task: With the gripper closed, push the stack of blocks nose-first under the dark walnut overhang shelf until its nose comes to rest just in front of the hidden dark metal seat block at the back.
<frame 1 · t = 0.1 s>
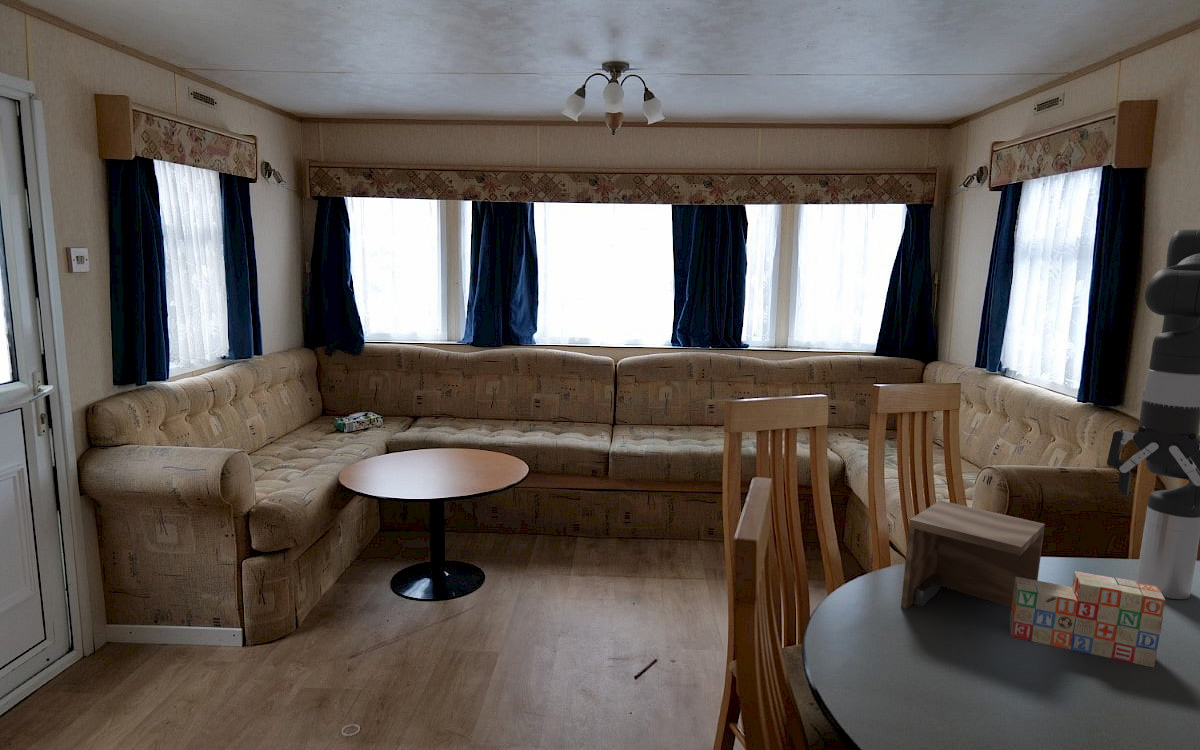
hand: (1156, 501, 122), 29 cm above the table, fingers open, 8 cm apart
stack of blocks: (1078, 645, 136), on the table
overhang shelf: (970, 610, 147), on the table
registration seat: (927, 597, 152), on the table
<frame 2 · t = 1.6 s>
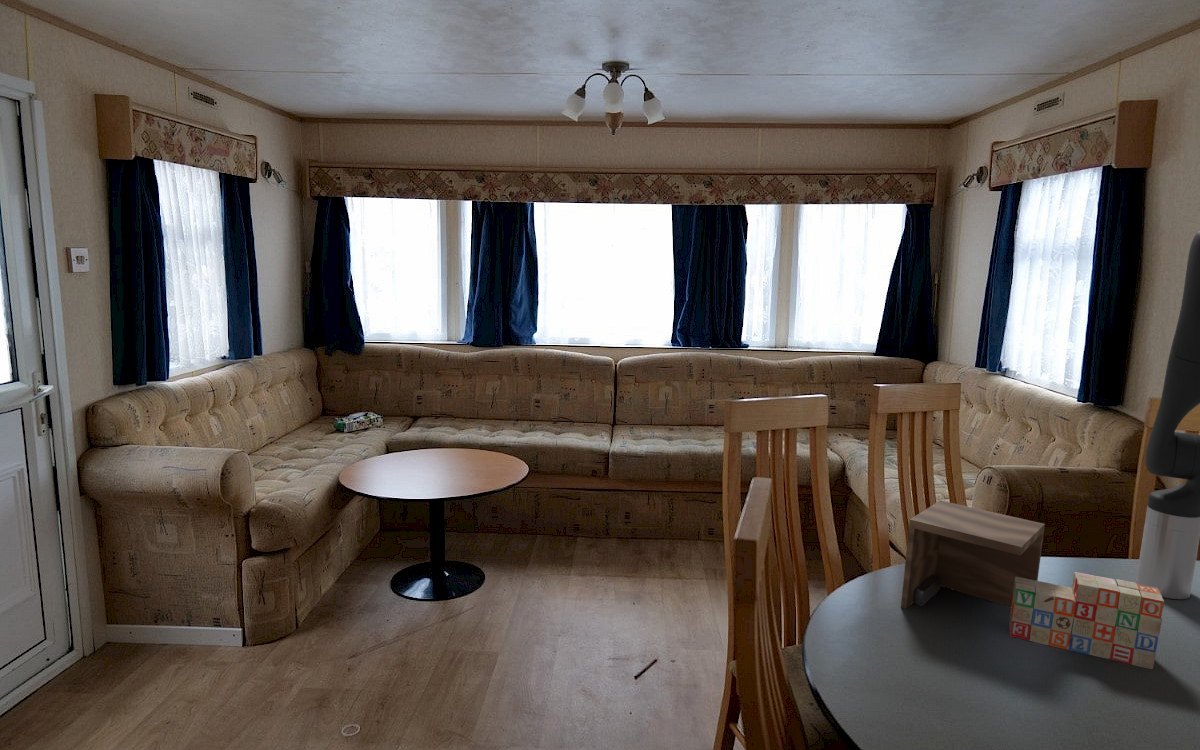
nothing on the table moved.
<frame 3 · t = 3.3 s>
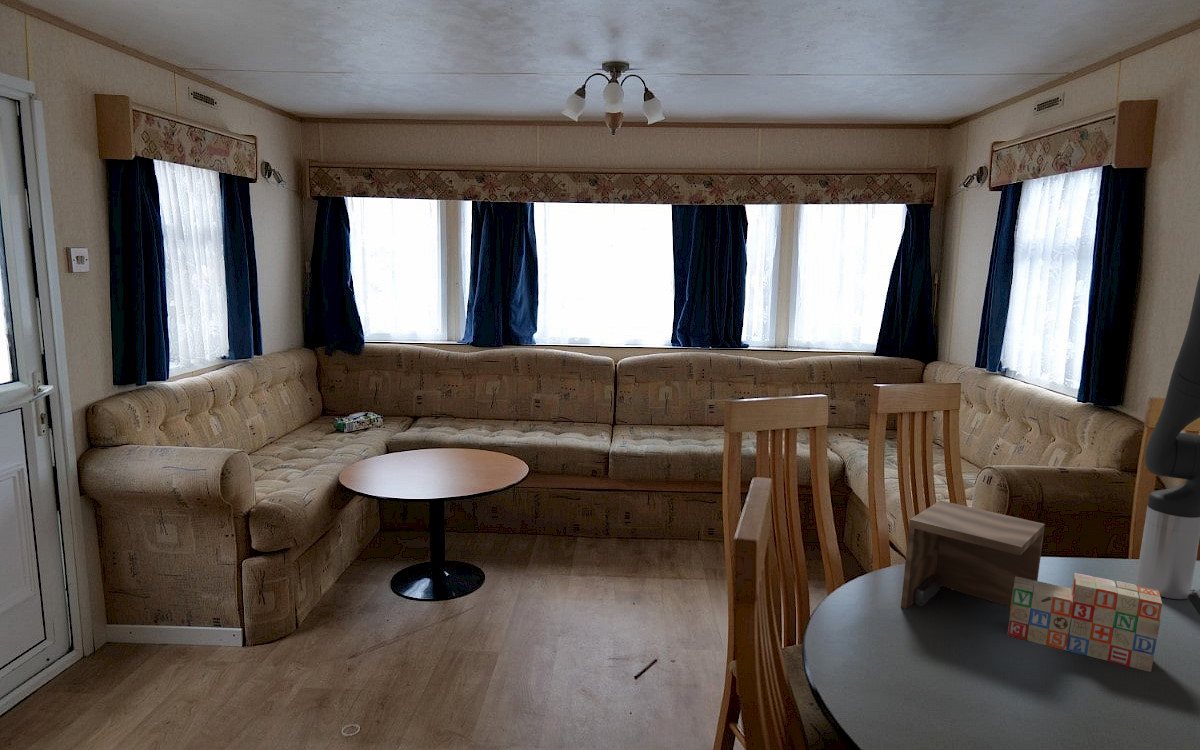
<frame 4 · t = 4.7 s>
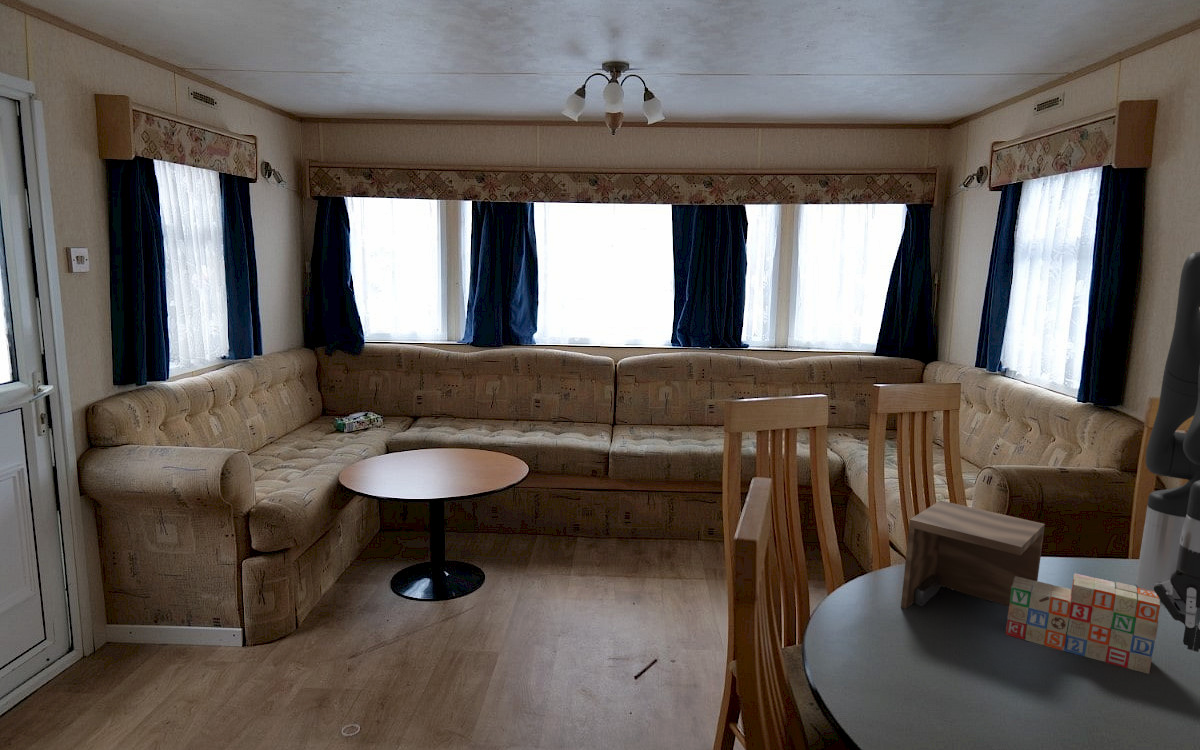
hand: (1192, 648, 125), 5 cm above the table, fingers closed
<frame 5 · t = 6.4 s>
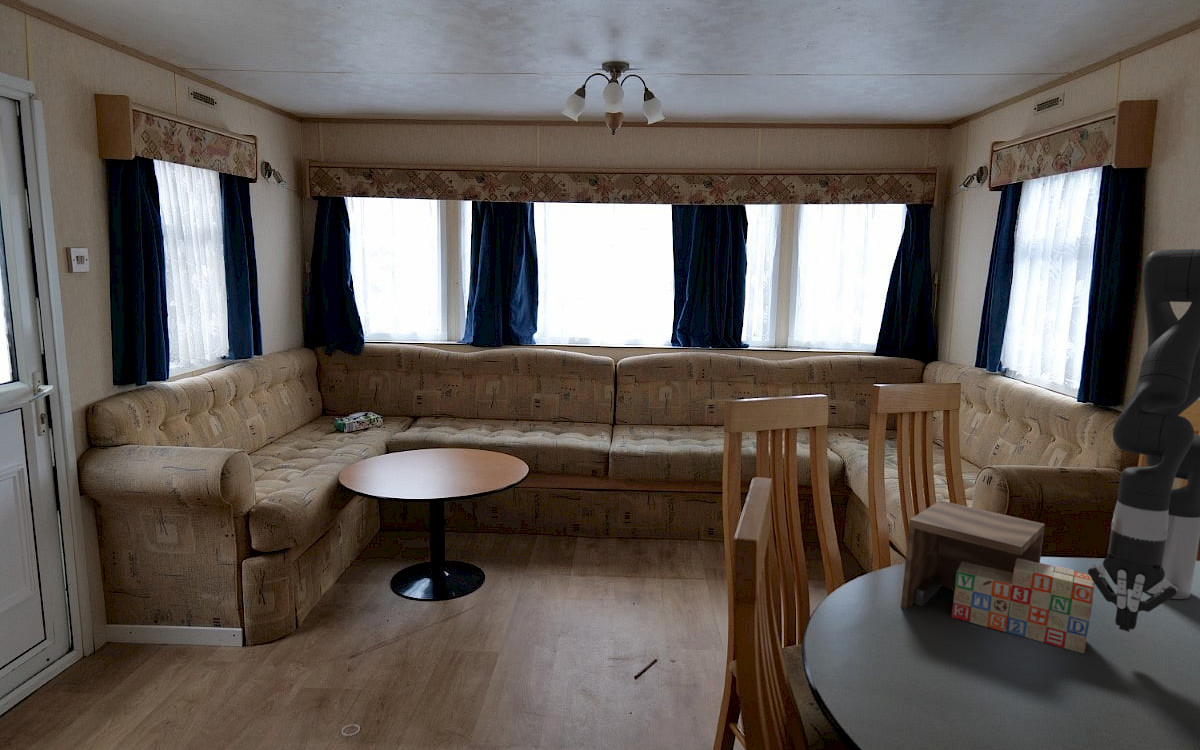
hand: (1124, 628, 131), 5 cm above the table, fingers closed
stack of blocks: (1016, 629, 140), on the table, touching hand
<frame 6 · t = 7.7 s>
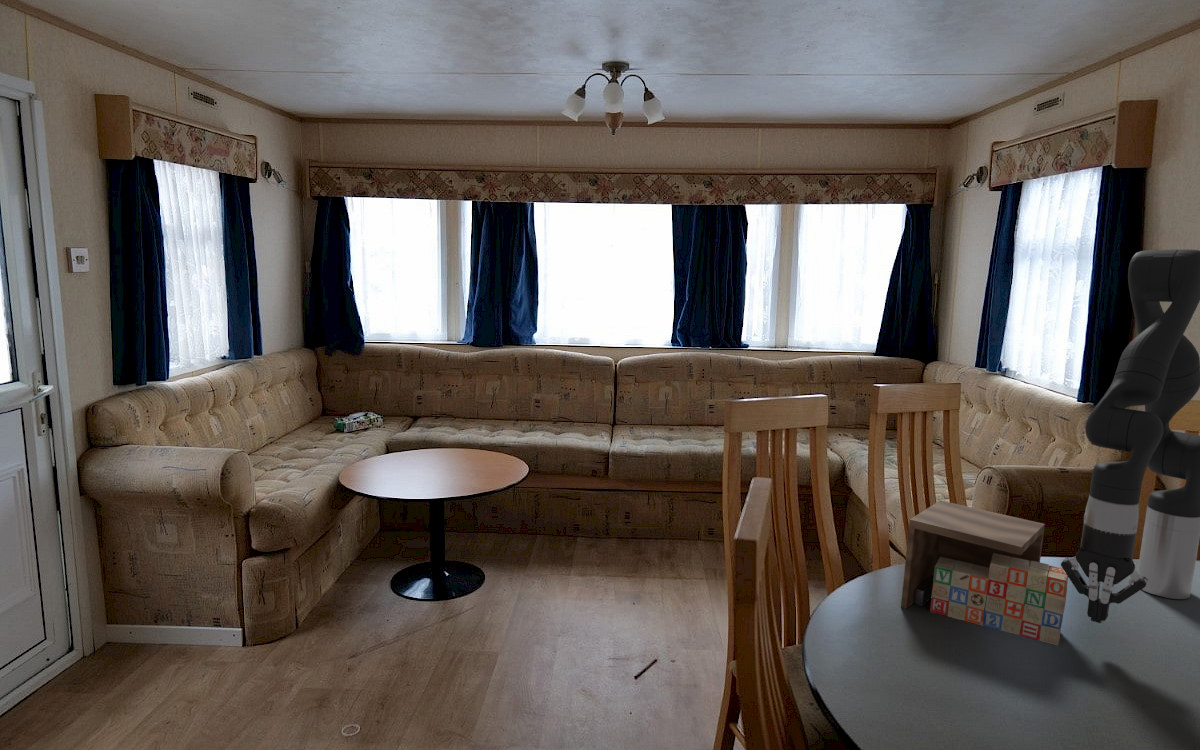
hand: (1096, 620, 133), 5 cm above the table, fingers closed
stack of blocks: (993, 623, 143), on the table
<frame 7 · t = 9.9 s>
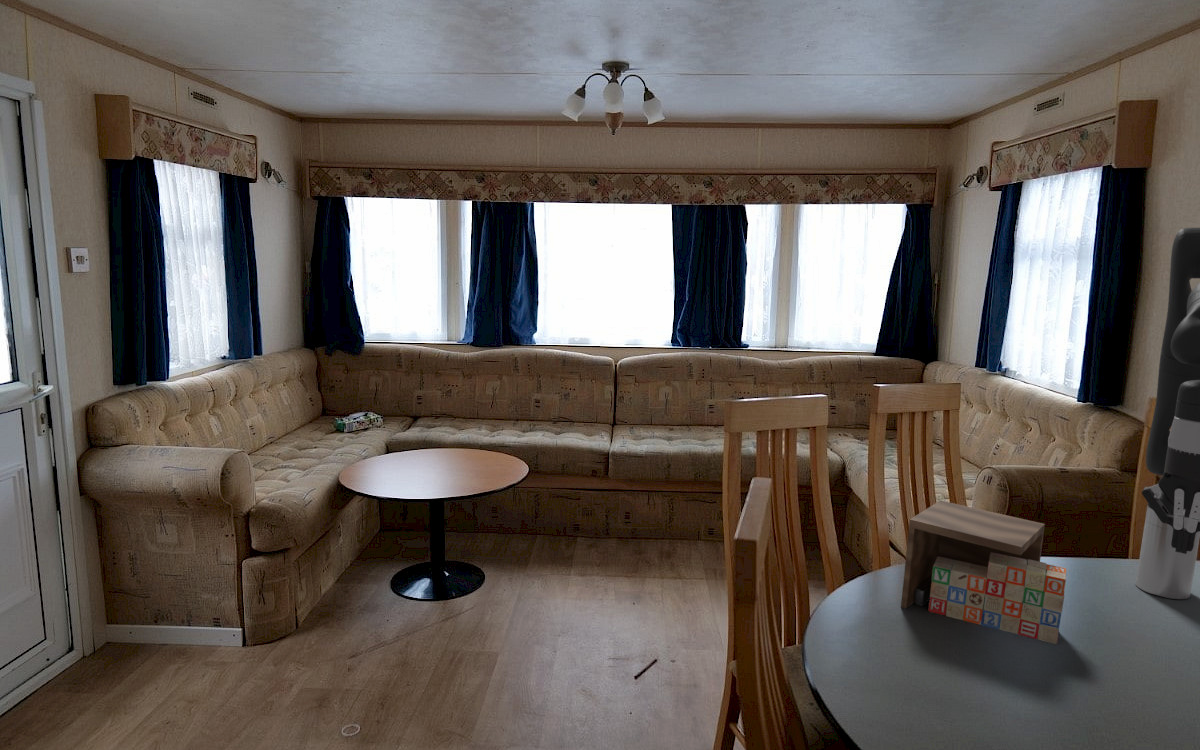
hand: (1181, 551, 124), 20 cm above the table, fingers closed
nothing on the table moved.
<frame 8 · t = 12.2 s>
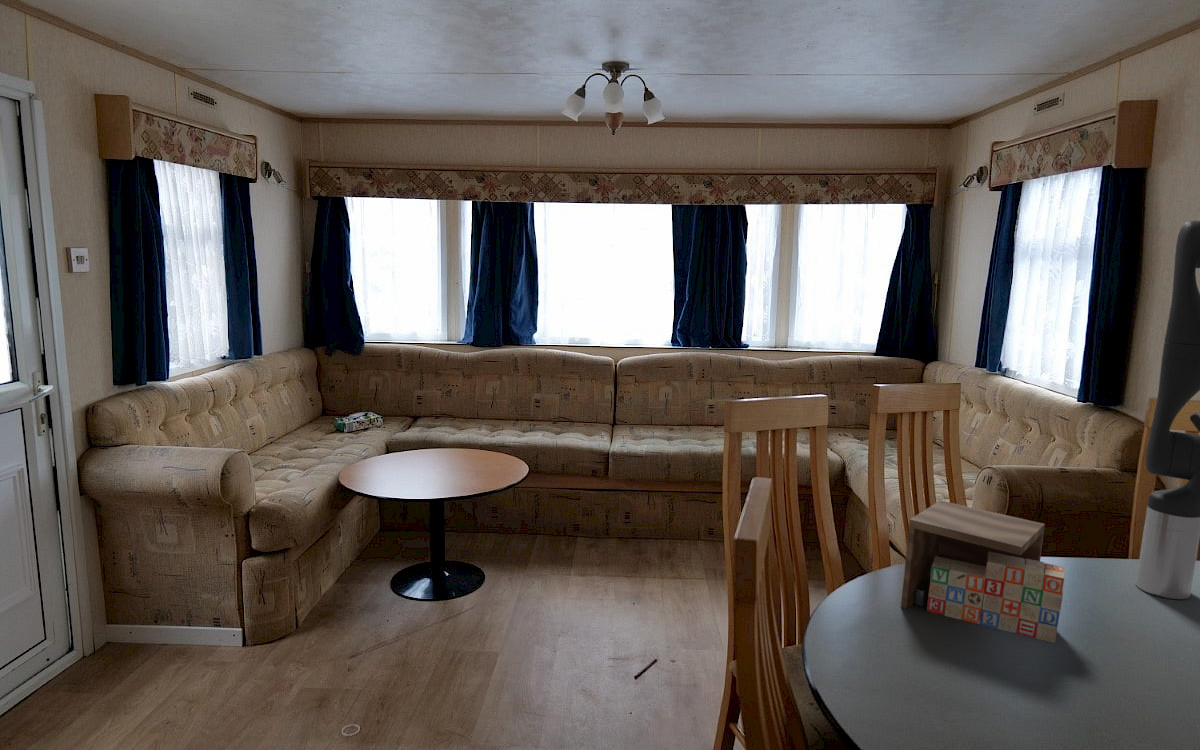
nothing on the table moved.
at the end: stack of blocks 1.7 cm from the target spot on the overhang shelf, point 0.0 cm above the overhang shelf's base; stack of blocks tilted 0° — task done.
